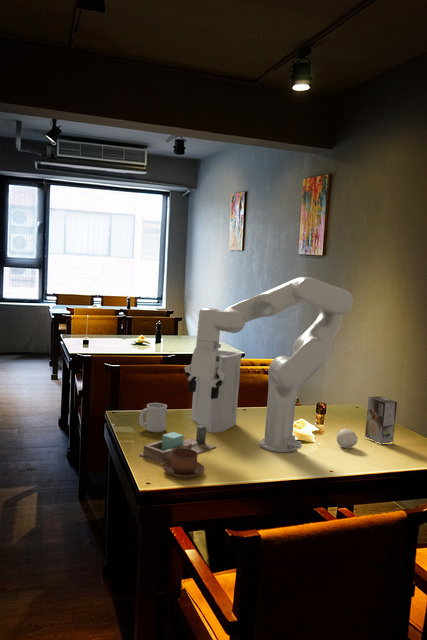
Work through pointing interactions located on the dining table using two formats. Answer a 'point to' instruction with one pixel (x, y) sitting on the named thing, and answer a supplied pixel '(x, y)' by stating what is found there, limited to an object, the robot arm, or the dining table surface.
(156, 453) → the lane
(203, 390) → the tall white carton
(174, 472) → the cup and saucer
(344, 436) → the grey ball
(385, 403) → the coffee box
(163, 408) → the cup
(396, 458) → the dining table surface
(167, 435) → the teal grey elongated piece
